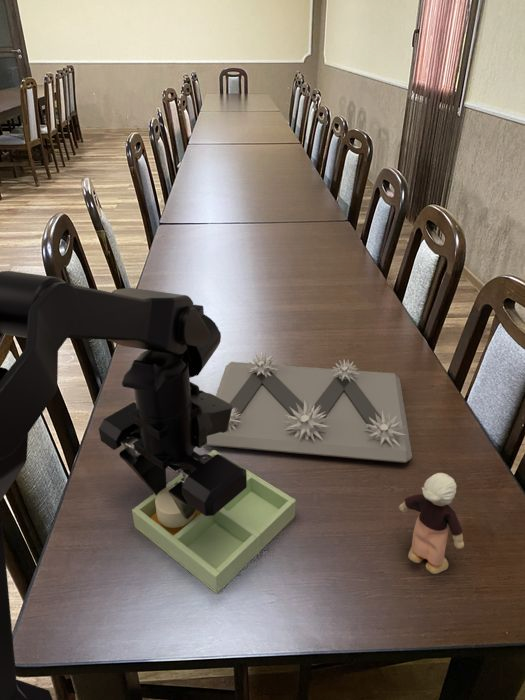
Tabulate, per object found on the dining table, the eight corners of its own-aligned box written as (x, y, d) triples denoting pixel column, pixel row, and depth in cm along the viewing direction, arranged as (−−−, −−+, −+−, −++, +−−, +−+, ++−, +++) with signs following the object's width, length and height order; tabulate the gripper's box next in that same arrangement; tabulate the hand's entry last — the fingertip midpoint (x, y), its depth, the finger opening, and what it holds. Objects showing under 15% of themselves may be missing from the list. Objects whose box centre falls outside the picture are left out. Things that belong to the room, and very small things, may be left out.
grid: (216, 594, 58) (215, 576, 57) (134, 526, 66) (131, 509, 64) (295, 516, 68) (296, 499, 66) (214, 465, 75) (213, 449, 74)
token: (174, 534, 63) (173, 520, 61) (149, 514, 65) (146, 500, 64) (202, 511, 66) (201, 497, 64) (177, 492, 68) (176, 479, 67)
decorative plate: (397, 382, 93) (403, 347, 89) (411, 470, 75) (419, 430, 71) (227, 369, 96) (226, 335, 92) (200, 450, 78) (197, 411, 74)
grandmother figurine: (460, 560, 62) (485, 480, 56) (451, 585, 59) (476, 504, 53) (397, 531, 66) (413, 453, 59) (385, 553, 63) (401, 474, 56)
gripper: (280, 401, 57) (277, 505, 65) (163, 343, 67) (173, 439, 75) (205, 457, 49) (212, 566, 58) (86, 381, 60) (106, 483, 68)
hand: (175, 506), depth 65 cm, fingers closed on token, 4 cm apart
